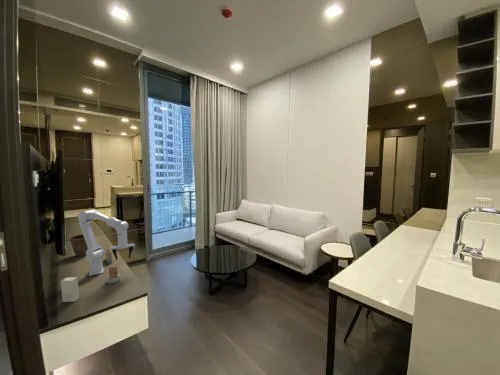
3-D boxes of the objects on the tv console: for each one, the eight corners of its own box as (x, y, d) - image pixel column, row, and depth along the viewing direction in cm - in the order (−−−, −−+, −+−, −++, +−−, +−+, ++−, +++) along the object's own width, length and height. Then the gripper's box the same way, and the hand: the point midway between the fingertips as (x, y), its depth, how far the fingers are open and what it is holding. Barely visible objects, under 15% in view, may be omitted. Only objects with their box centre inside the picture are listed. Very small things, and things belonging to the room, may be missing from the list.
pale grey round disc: (106, 280, 141) (106, 275, 141) (120, 276, 145) (120, 272, 145) (106, 285, 134) (106, 280, 134) (121, 281, 139) (121, 277, 138)
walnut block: (109, 276, 140) (109, 267, 140) (117, 274, 143) (117, 266, 142) (109, 278, 136) (108, 270, 136) (117, 277, 139) (117, 268, 138)
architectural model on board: (112, 263, 168) (112, 250, 167) (108, 264, 166) (107, 251, 165) (110, 258, 176) (109, 247, 176) (105, 259, 174) (105, 248, 174)
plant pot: (97, 252, 190) (96, 234, 189) (82, 258, 175) (81, 239, 174) (81, 251, 191) (80, 233, 190) (65, 258, 177) (64, 238, 175)
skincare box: (79, 297, 121) (78, 276, 120) (73, 302, 116) (72, 280, 115) (67, 298, 120) (66, 276, 119) (61, 302, 115) (60, 280, 115)
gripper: (109, 242, 141) (110, 263, 142) (134, 239, 149) (135, 258, 150) (109, 240, 147) (110, 259, 148) (134, 236, 155) (134, 255, 155)
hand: (123, 258), depth 149 cm, fingers open, 7 cm apart
